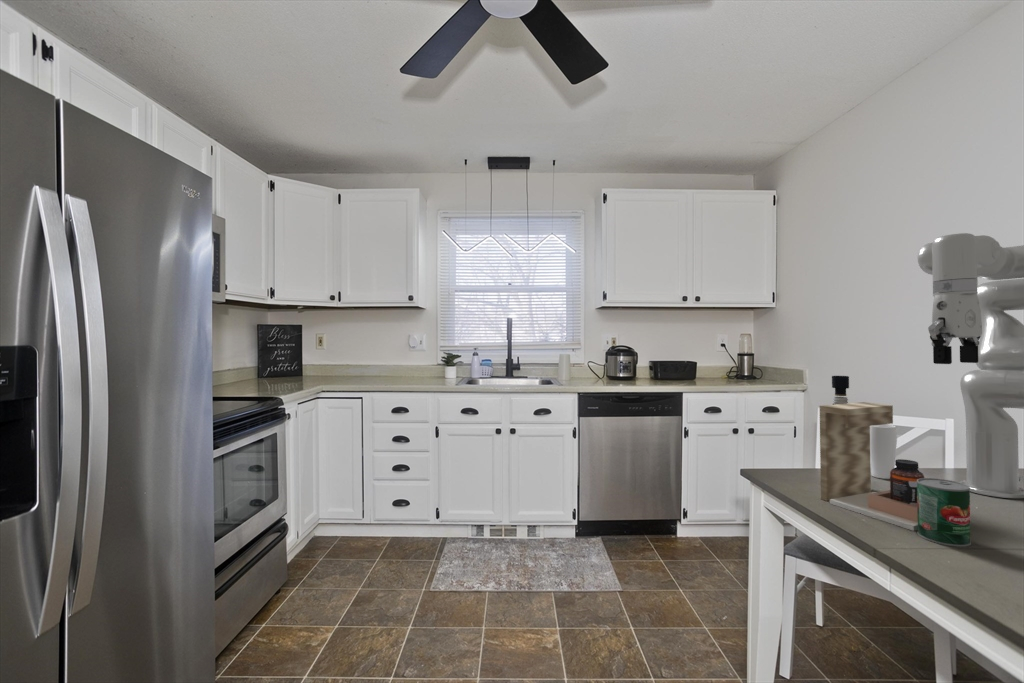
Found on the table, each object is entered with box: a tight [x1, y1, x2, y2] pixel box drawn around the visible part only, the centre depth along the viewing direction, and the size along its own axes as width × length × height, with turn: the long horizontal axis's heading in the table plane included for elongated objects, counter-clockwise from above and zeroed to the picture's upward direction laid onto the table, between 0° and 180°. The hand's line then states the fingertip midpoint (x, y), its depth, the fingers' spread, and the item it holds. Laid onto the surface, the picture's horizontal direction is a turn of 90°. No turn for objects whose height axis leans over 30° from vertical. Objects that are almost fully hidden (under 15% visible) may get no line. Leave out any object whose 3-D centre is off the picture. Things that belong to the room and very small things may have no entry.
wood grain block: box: [819, 401, 894, 502], centre depth 118 cm, size 16×7×24 cm, turn 110°
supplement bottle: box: [889, 458, 925, 506], centre depth 107 cm, size 6×6×11 cm
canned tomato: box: [917, 477, 972, 548], centre depth 94 cm, size 8×8×11 cm
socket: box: [829, 490, 918, 532], centre depth 109 cm, size 16×18×4 cm
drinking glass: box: [870, 424, 898, 480], centre depth 136 cm, size 7×7×15 cm
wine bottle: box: [831, 375, 850, 405], centre depth 129 cm, size 6×6×30 cm
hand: (955, 363), depth 108 cm, fingers open, 9 cm apart
